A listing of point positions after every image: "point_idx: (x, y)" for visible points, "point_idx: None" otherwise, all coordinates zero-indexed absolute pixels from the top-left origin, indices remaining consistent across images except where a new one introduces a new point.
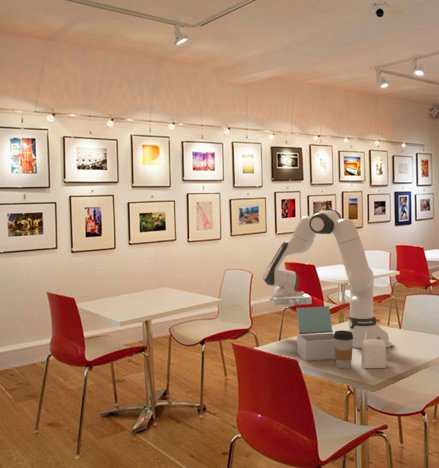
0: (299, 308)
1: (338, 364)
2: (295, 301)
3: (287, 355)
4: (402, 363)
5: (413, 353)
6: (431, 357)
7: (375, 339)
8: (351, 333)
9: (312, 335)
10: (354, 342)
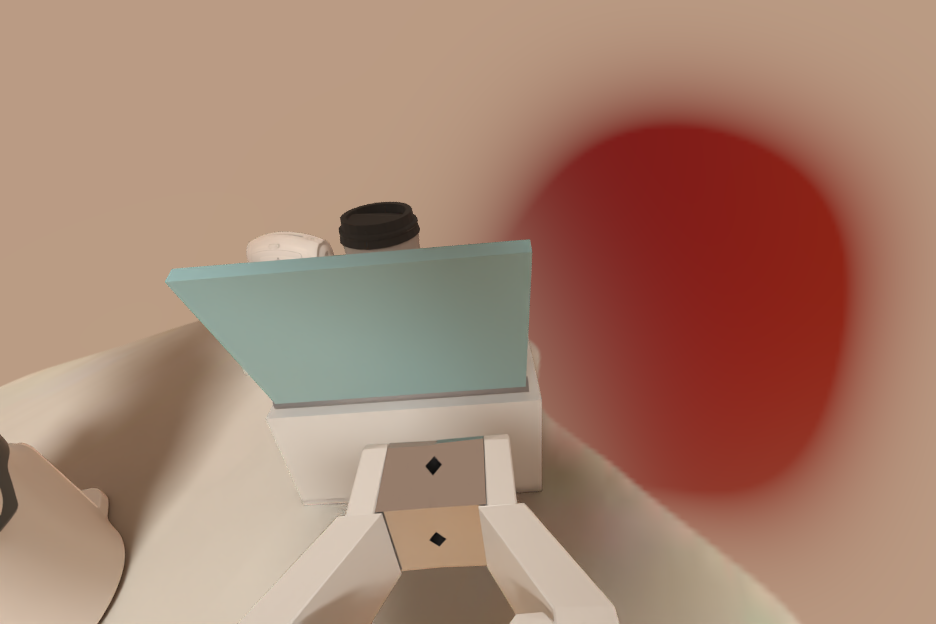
0: (501, 245)
1: None
2: (447, 441)
3: (608, 474)
4: (192, 342)
5: (10, 421)
6: (30, 377)
7: (276, 235)
8: (355, 208)
9: (432, 399)
10: (97, 541)
